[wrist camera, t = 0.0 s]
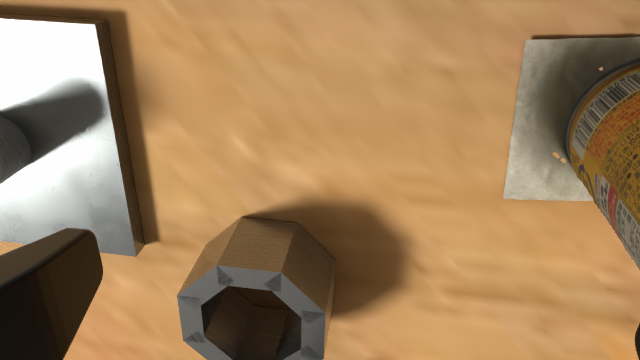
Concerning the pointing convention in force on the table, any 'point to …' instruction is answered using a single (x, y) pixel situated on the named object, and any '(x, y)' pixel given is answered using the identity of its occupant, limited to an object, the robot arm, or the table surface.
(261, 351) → the octagonal metal collar
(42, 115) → the piston post
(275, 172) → the table surface
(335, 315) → the table surface
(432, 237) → the table surface
